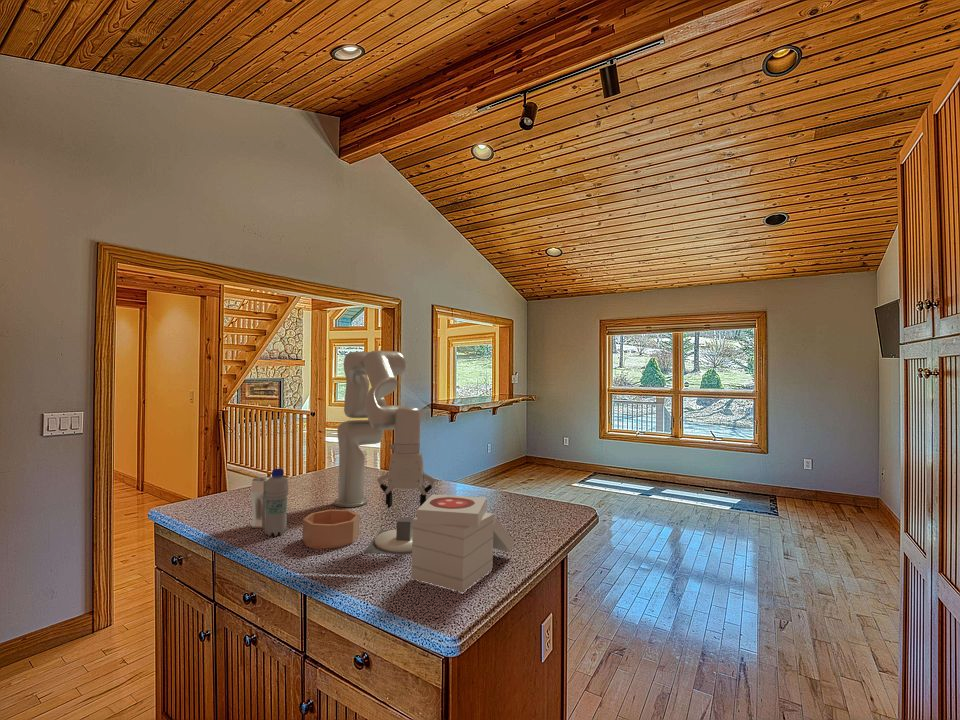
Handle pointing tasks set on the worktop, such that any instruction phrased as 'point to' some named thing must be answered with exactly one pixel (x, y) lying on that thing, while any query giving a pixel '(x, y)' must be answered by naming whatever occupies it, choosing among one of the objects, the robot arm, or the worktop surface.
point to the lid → (397, 537)
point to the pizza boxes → (455, 541)
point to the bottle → (276, 503)
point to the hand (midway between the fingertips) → (405, 507)
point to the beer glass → (258, 501)
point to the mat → (374, 549)
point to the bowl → (330, 528)
